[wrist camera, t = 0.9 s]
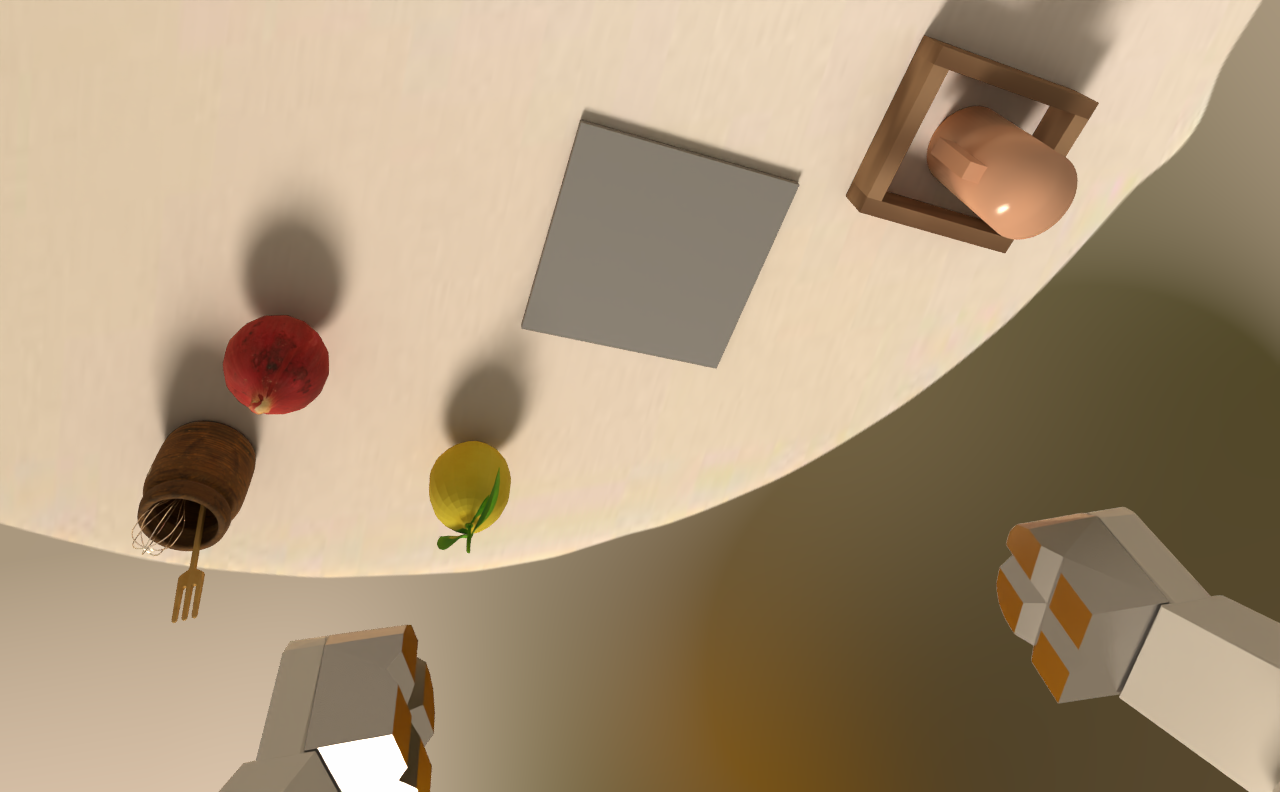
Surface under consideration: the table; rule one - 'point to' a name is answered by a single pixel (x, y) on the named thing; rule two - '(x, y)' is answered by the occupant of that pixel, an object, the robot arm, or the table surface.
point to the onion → (276, 365)
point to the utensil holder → (195, 496)
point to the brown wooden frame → (908, 114)
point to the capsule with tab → (1001, 172)
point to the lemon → (468, 489)
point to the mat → (653, 247)
